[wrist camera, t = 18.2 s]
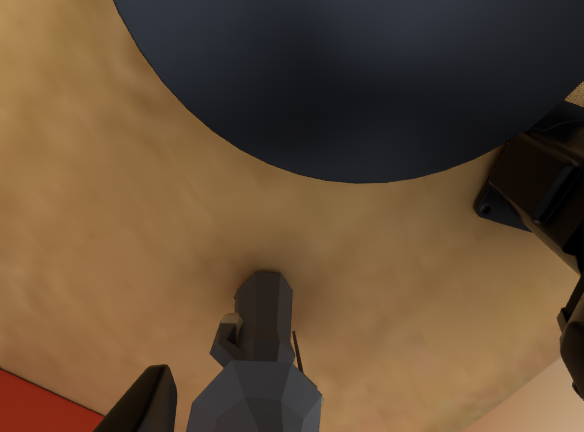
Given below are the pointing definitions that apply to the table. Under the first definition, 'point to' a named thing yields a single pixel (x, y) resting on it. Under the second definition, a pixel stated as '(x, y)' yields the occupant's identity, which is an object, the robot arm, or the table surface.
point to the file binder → (40, 409)
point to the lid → (363, 76)
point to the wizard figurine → (258, 367)
